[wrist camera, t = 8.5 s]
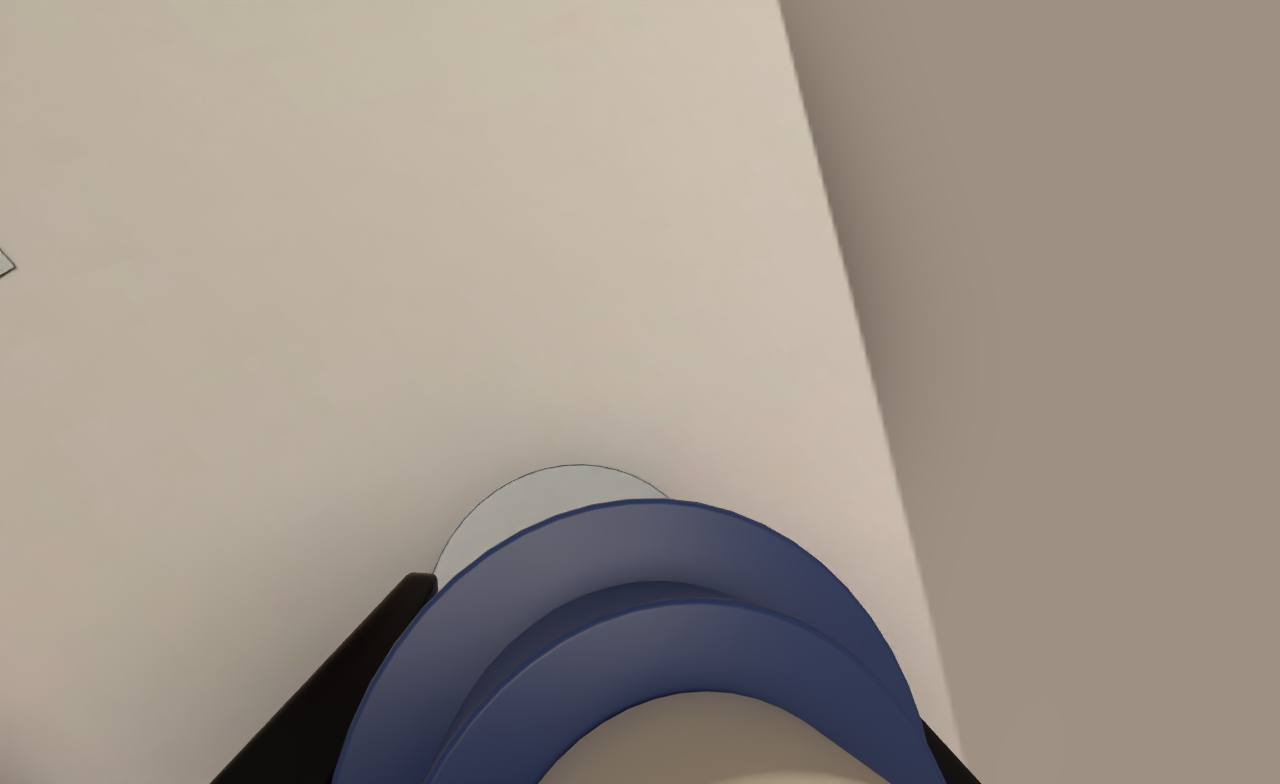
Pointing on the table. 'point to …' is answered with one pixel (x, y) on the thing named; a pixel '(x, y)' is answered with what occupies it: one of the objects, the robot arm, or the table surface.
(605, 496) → the blue coaster
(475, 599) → the blue bottle
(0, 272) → the grey square plate
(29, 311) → the table surface
